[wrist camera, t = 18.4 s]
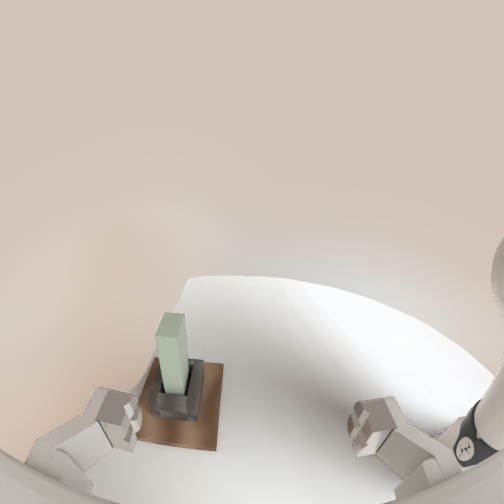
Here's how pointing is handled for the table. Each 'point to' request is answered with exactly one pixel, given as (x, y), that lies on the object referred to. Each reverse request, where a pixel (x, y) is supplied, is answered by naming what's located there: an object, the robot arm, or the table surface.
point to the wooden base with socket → (182, 408)
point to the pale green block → (173, 354)
